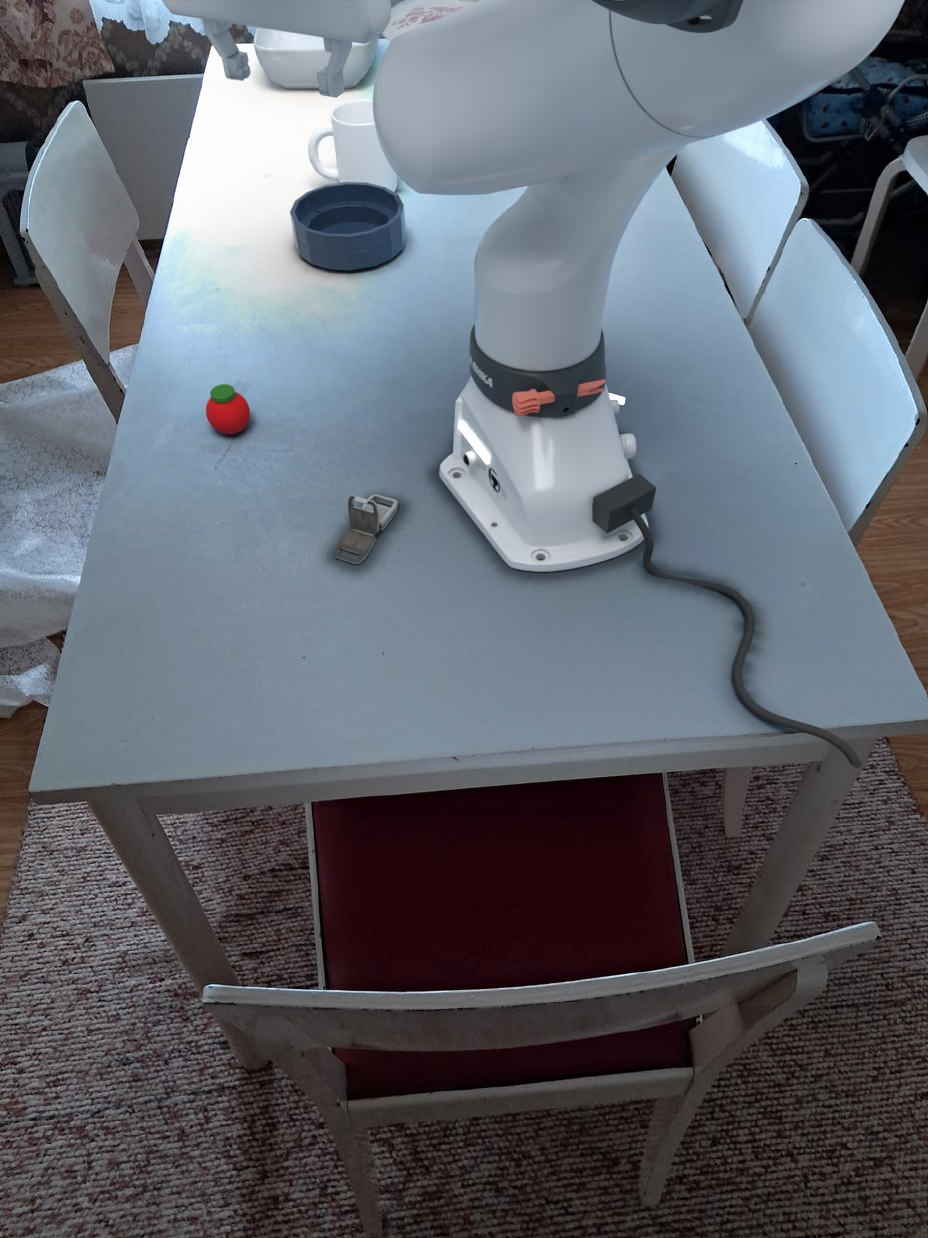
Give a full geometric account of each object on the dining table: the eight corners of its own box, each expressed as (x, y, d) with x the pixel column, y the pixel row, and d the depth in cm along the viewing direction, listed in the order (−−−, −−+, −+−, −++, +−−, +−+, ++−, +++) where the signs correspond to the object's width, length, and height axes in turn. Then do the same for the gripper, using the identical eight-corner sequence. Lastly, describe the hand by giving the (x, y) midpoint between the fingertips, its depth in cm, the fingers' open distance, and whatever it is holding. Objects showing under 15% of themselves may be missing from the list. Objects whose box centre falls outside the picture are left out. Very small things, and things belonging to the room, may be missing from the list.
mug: (313, 206, 121) (301, 127, 113) (315, 178, 126) (304, 101, 118) (398, 201, 121) (393, 122, 113) (397, 174, 127) (392, 97, 119)
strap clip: (373, 498, 84) (368, 464, 81) (401, 506, 83) (397, 473, 80) (331, 558, 79) (324, 524, 76) (360, 567, 78) (354, 534, 75)
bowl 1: (254, 97, 145) (244, 45, 139) (275, 52, 158) (267, 2, 152) (376, 98, 144) (371, 45, 138) (387, 52, 157) (383, 2, 151)
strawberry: (256, 437, 90) (247, 399, 86) (214, 446, 89) (202, 408, 85) (250, 412, 93) (241, 374, 89) (209, 420, 92) (197, 382, 88)
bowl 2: (417, 263, 111) (415, 225, 107) (308, 282, 109) (302, 243, 105) (390, 212, 120) (387, 175, 116) (288, 228, 117) (282, 191, 113)
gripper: (111, -125, 65) (163, 80, 76) (350, -100, 59) (370, 118, 70) (163, -143, 69) (206, 56, 79) (393, -121, 63) (405, 90, 74)
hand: (284, 85), depth 75 cm, fingers open, 8 cm apart
